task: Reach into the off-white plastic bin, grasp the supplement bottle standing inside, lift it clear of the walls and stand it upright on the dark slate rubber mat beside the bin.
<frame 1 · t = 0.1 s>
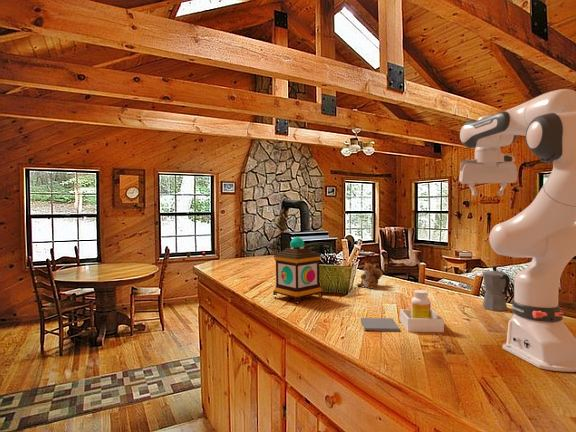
hand: (487, 195, 140), 48 cm above the worktop, tool pointing down, fingers open, 8 cm apart
supplement bottle: (420, 326, 134), resting in bin
coffeepot: (496, 309, 155), on the worktop
bin: (420, 326, 134), on the worktop
mat: (379, 325, 135), on the worktop
stuffed squirrel: (370, 287, 202), on the worktop
decorative lantern: (297, 298, 178), on the worktop
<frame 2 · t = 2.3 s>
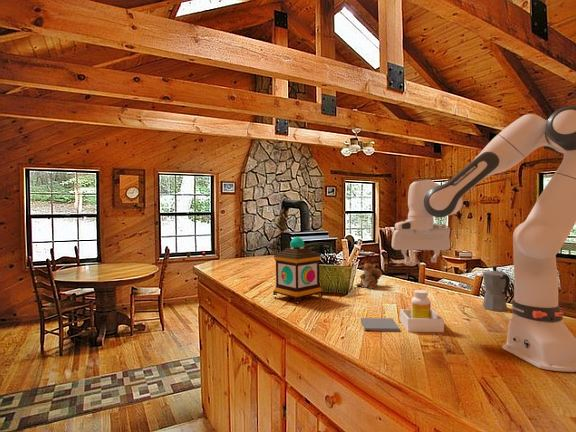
hand: (420, 262, 133), 23 cm above the worktop, tool pointing down, fingers open, 8 cm apart
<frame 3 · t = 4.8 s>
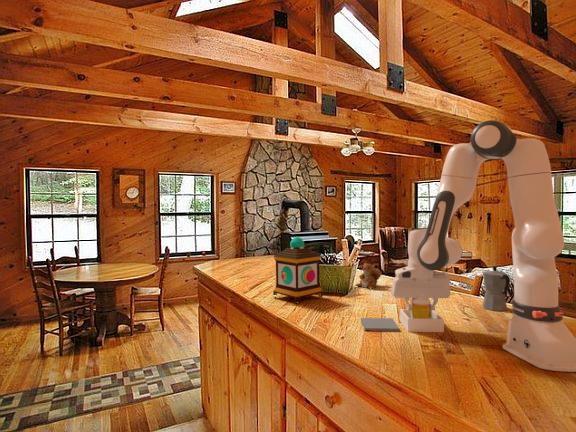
hand: (420, 309, 134), 6 cm above the worktop, tool pointing down, fingers closed on supplement bottle, 7 cm apart
supplement bottle: (420, 326, 134), resting in bin, touching gripper
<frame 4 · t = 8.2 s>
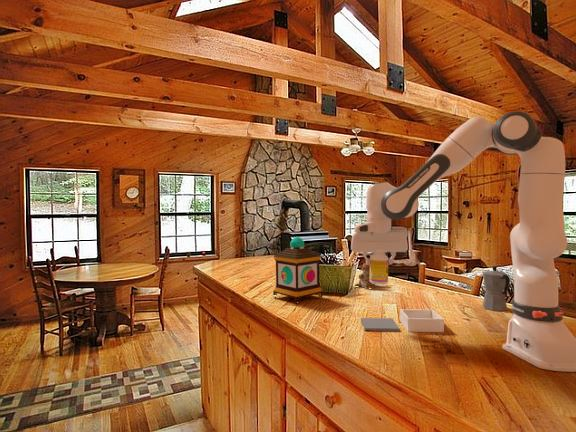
hand: (379, 264, 134), 23 cm above the worktop, tool pointing down, fingers closed on supplement bottle, 7 cm apart
supplement bottle: (378, 283, 135), point 16 cm above the worktop, touching gripper
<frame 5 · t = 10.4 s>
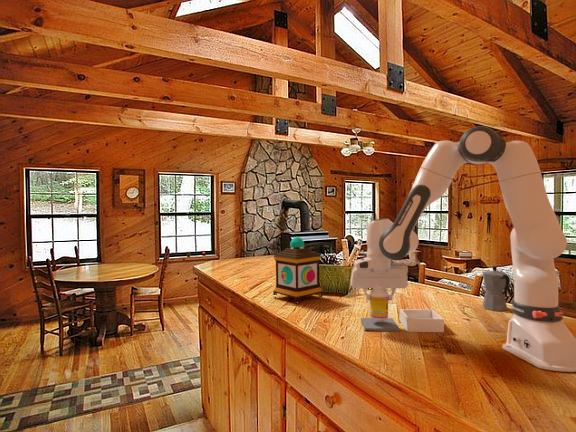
hand: (379, 300, 135), 10 cm above the worktop, tool pointing down, fingers closed on supplement bottle, 7 cm apart
supplement bottle: (378, 319, 135), point 2 cm above the worktop, touching gripper
when the fingers open (8 cm above the worktop, at t = 11.8 s): supplement bottle stays where it is, resting on mat.
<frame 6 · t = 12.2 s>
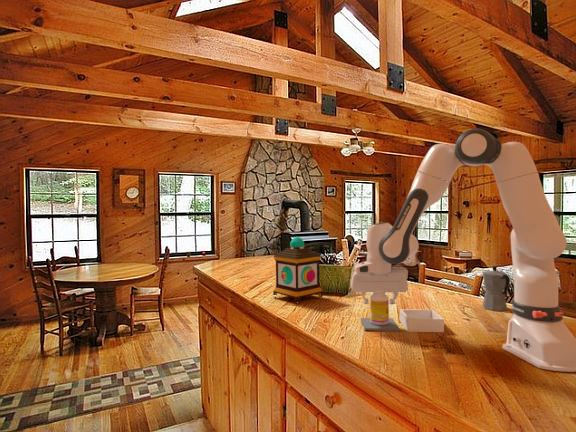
hand: (379, 303, 135), 8 cm above the worktop, tool pointing down, fingers open, 8 cm apart
supplement bottle: (379, 323, 135), point 1 cm above the worktop, touching mat
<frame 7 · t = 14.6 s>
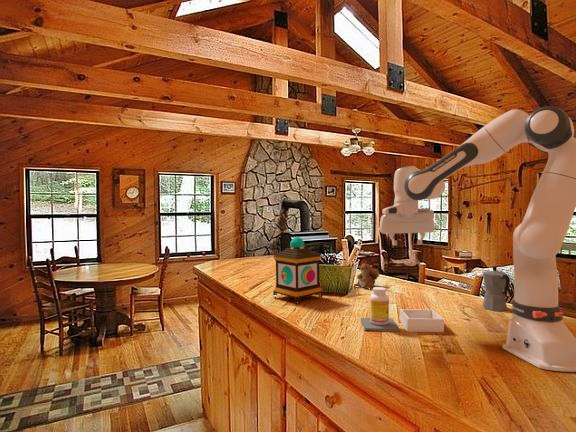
hand: (407, 244, 140), 29 cm above the worktop, tool pointing down, fingers open, 8 cm apart
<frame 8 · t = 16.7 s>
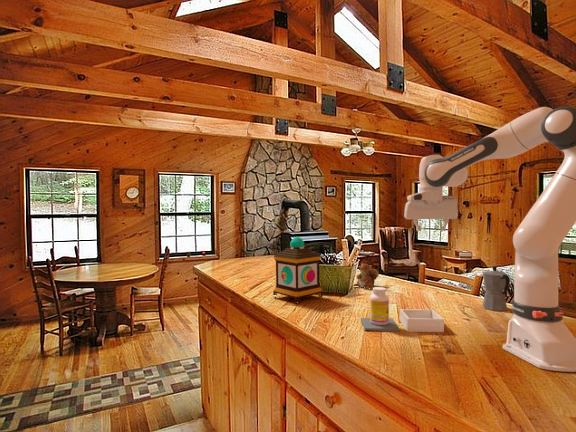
hand: (430, 230, 146), 34 cm above the worktop, tool pointing down, fingers open, 8 cm apart
at the end: supplement bottle inside the target area on the mat (0.1 cm from its centre), point 0.8 cm above the mat's base; supplement bottle tilted 0°; the gripper is holding nothing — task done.
